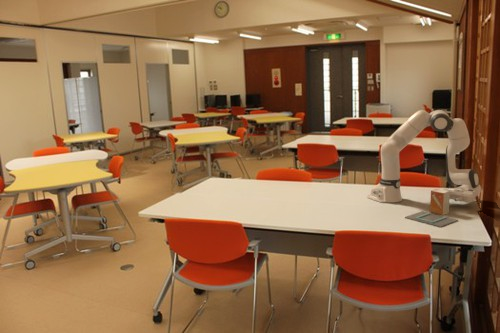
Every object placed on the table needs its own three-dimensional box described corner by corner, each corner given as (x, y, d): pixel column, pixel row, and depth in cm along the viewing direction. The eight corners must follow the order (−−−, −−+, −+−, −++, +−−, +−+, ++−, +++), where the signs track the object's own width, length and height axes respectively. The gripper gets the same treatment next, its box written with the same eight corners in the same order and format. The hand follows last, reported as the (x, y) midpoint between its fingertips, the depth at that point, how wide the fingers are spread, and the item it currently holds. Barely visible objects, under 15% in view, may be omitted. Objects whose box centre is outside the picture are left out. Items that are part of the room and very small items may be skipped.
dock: (404, 218, 250) (404, 215, 250) (422, 212, 259) (422, 210, 259) (440, 227, 232) (440, 225, 232) (458, 220, 241) (458, 218, 241)
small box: (429, 212, 258) (430, 190, 255) (435, 210, 262) (436, 188, 259) (443, 215, 251) (443, 192, 249) (449, 212, 255) (449, 190, 253)
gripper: (445, 185, 275) (432, 189, 268) (478, 191, 258) (464, 196, 251) (445, 195, 276) (431, 199, 269) (477, 202, 260) (464, 207, 252)
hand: (447, 198), depth 260 cm, fingers open, 8 cm apart
